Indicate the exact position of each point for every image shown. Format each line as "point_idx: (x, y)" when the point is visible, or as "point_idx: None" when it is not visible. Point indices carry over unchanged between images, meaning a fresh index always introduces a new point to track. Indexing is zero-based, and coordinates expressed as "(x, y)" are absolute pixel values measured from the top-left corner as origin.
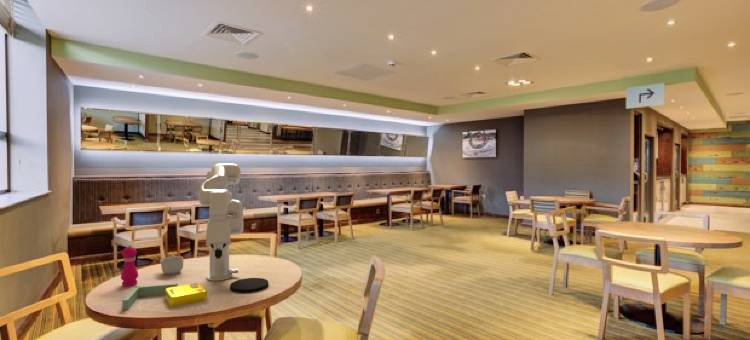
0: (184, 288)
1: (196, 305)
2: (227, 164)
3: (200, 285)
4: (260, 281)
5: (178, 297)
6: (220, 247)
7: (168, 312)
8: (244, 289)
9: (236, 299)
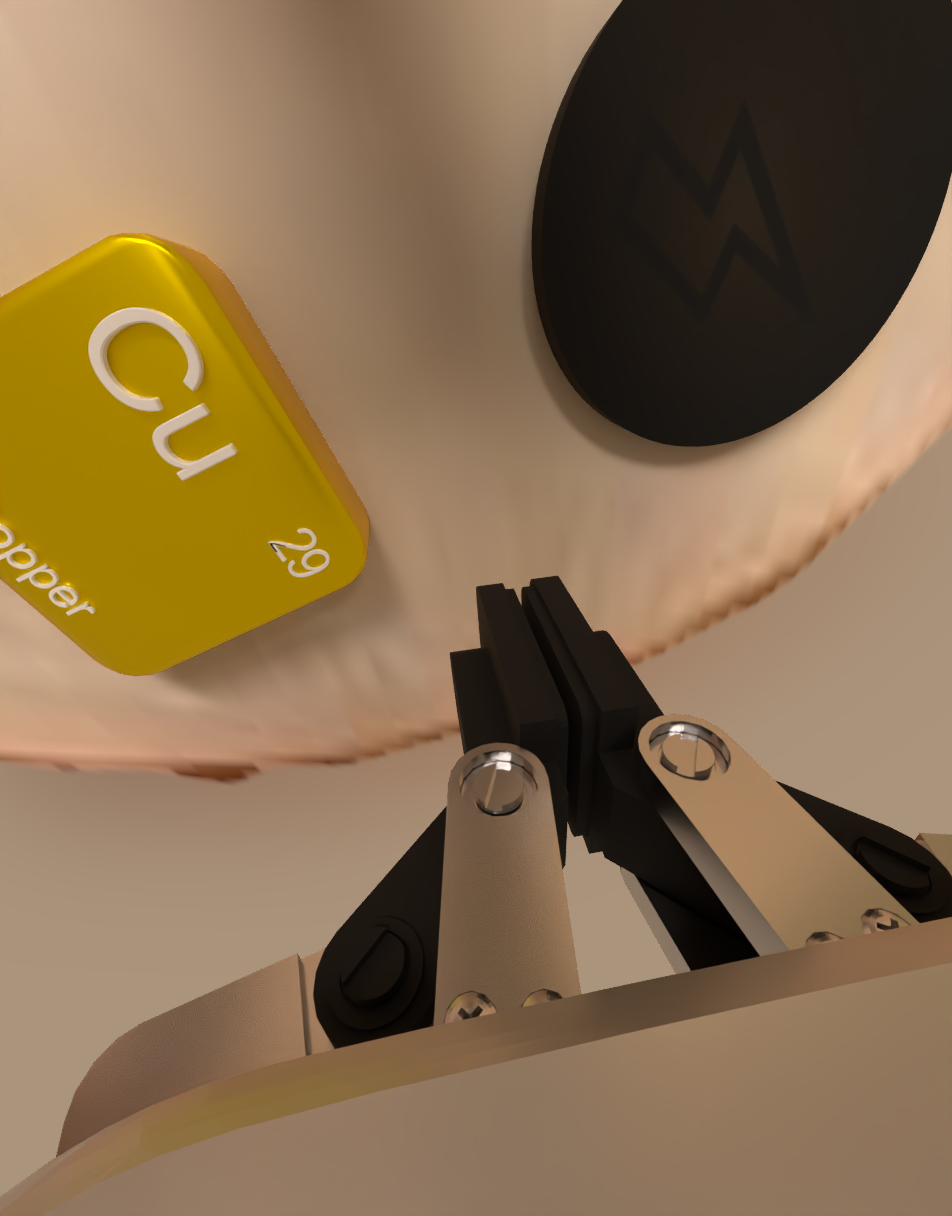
0: (99, 472)
1: (336, 638)
2: None
3: (239, 388)
4: (874, 172)
5: (180, 661)
6: (660, 908)
7: (202, 718)
8: (668, 442)
9: (588, 569)
